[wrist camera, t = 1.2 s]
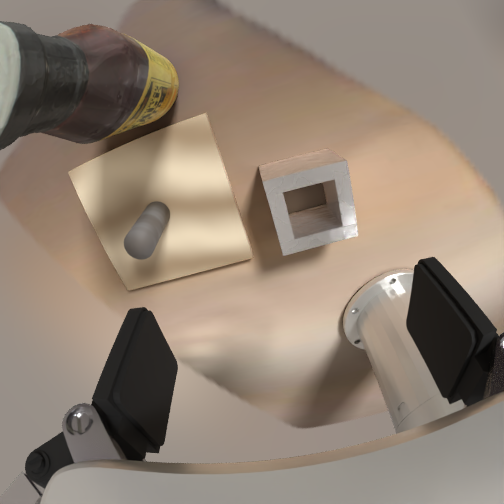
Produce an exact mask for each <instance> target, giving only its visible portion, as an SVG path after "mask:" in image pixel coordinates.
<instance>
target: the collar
mask: <svg viewBox="0 0 504 504" xmlns="http://www.w3.org/2000/svg"><path fill="white" fill-rule="evenodd" d="M259 170H260V174H261V178H262V182H263V185H264V189H265V192H266V196H267V199H268V203H269V206H270V210H271V213H272V217H273V220H274V224H275V228H276V231H277V235H278V239H279V242H280V246H281V250H282V253H283V256H285V255H289V254H293V253H296V252H300V251H304V250H308V249H311V248H315V247H319V246H322V245H326V244H330V243H333V242H337V241H341V240H344V239H348V238H352V237H355V236H358V230H357V222H356V214H355V207H354V200H353V193H352V187H351V181H350V175H349V169H348V163H347V160H345V159H344V158H343V157H341V156H340V155H338V154H337V153H335V152H334V151H332V150H331V149H329V148H326V149H322V150H318V151H313V152H309V153H305V154H301V155H297V156H293V157H289V158H285V159H281V160H277V161H274V162H270V163H266V164H263V165H259ZM318 183H323V188H324V193H325V198H326V203H327V204H324V205H320V206H317V207H313V208H309V209H305V210H301V211H298V212H294V213H290V214H288V211H287V207H286V203H285V199H284V195H283V192H287V191H291V190H294V189H298V188H302V187H306V186H310V185H314V184H318Z"/></svg>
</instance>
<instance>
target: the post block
mask: <svg viewBox="0 0 504 504" xmlns="http://www.w3.org/2000/svg"><path fill="white" fill-rule="evenodd" d="M68 173H69V175H70V178H71V180H72V182H73V185H74V187H75V189H76V192H77V194H78V196H79V198H80V200H81V203H82V205H83V207H84V209H85V211H86V213H87V215H88V217H89V219H90V222H91V224H92V226H93V228H94V230H95V232H96V234H97V236H98V238H99V239H100V241H101V243H102V245H103V247H104V249H105V251H106V253H107V255H108V257H109V258H110V260H111V262H112V264H113V266H114V267H115V269H116V271H117V273H118V275H119V276H120V278H121V280H122V282H123V283H124V285H125V287H126V288H127V290H128V291H129V290H133V289H137V288H141V287H145V286H149V285H152V284H156V283H160V282H164V281H168V280H172V279H175V278H179V277H183V276H187V275H191V274H195V273H198V272H202V271H206V270H210V269H213V268H217V267H221V266H225V265H229V264H232V263H236V262H240V261H244V260H247V259H251V258H254V257H253V251H252V248H251V245H250V242H249V239H248V236H247V233H246V230H245V227H244V224H243V220H242V217H241V214H240V211H239V208H238V205H237V202H236V199H235V196H234V193H233V190H232V187H231V184H230V181H229V178H228V175H227V172H226V169H225V166H224V163H223V160H222V157H221V154H220V151H219V148H218V145H217V142H216V139H215V136H214V133H213V130H212V127H211V124H210V121H209V118H208V114H207V113H204V114H201V115H198V116H195V117H192V118H189V119H187V120H184V121H181V122H178V123H176V124H173V125H170V126H168V127H165V128H162V129H160V130H157V131H155V132H152V133H150V134H147V135H145V136H143V137H140V138H138V139H135V140H133V141H131V142H129V143H126V144H124V145H122V146H120V147H117V148H115V149H113V150H111V151H109V152H107V153H104V154H102V155H100V156H98V157H96V158H94V159H92V160H90V161H88V162H86V163H84V164H82V165H80V166H78V167H77V168H75V169H73V170H71V171H69V172H68Z"/></svg>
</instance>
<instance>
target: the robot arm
mask: <svg viewBox="0 0 504 504" xmlns="http://www.w3.org/2000/svg"><path fill="white" fill-rule="evenodd" d="M343 328H344V332H345V335H346V337H347V339H348V340H349V342H350V343H351V344H353V345H354V346H355V347H358V348H360V349H364V350H365V351H366V353H367V356H368V358H369V361H370V363H371V366H372V368H373V371H374V374H375V376H376V379H377V381H378V384H379V387H380V389H381V392H382V395H383V397H384V400H385V403H386V405H387V408H388V411H389V414H390V417H391V419H392V422H393V425H394V428H395V431H396V434H394V435H391V436H388V437H385V438H381V439H377V440H374V441H370V442H366V443H362V444H358V445H354V446H350V447H346V448H341V449H336V450H332V451H327V452H321V453H317V454H310V455H304V456H298V457H290V458H283V459H274V460H265V461H255V462H239V463H217V464H216V463H214V464H191V463H190V464H189V463H187V464H186V463H160V462H147V461H146V460H145V456H146V452H150V453H159V449H160V446H162V445H163V444H164V441H165V436H166V430H167V424H168V418H169V413H170V406H171V402H172V396H173V391H174V385H175V380H176V375H177V370H178V365H177V361H176V359H175V357H174V355H173V353H172V351H171V349H170V347H169V345H168V343H167V341H166V339H165V337H164V336H163V334H162V331H161V329H160V327H159V325H158V323H157V321H156V319H155V317H154V315H153V313H152V312H151V311H148V310H147V309H146V308H145V307H142V308H134V309H130V310H129V311H128V313H127V315H126V317H125V319H124V322H123V324H122V326H121V328H120V331H119V333H118V335H117V338H116V340H115V342H114V345H113V347H112V349H111V352H110V354H109V357H108V359H107V361H106V364H105V367H104V369H103V371H102V374H101V376H100V379H99V381H98V384H97V387H96V390H95V393H94V395H93V397H92V399H93V401H92V404H91V405H90V404H86V403H82V404H78V405H75V406H73V407H72V408H71V409H69V410H68V412H67V413H66V414H65V416H64V418H63V421H62V429H63V432H61V433H60V434H58V435H57V436H55V437H54V438H52V439H51V440H50V441H48V442H46V443H45V444H43V445H41V446H40V447H39V448H37V449H35V450H34V451H33V452H31V453H30V455H29V456H28V458H27V460H26V464H25V470H26V473H24V472H21V473H20V474H19V475H18V477H17V478H16V479H15V480H14V481H13V482H12V484H11V485H10V486H9V487H8V488H7V489H6V491H5V492H4V493H3V494H2V495H1V496H0V504H504V332H503V333H502V334H500V336H498V334H497V333H496V331H497V329H496V328H495V327H494V325H493V324H492V323H491V321H490V320H489V319H488V318H487V316H486V315H485V314H484V313H483V311H482V310H481V309H480V308H479V306H478V305H477V304H476V303H475V302H474V300H473V299H472V298H471V297H470V296H469V294H468V293H467V292H466V291H465V290H464V289H463V288H462V286H461V285H460V284H459V283H458V282H457V281H456V280H455V278H454V277H453V276H452V275H451V274H450V273H449V272H448V271H447V270H446V269H445V268H444V266H443V265H442V264H441V263H440V262H439V261H438V260H437V259H436V258H435V257H430V258H426V259H421V260H419V262H418V265H415V267H414V270H412V269H397V270H393V271H389V272H386V273H384V274H382V275H380V276H377V277H376V278H374V279H373V280H371V281H369V282H368V283H367V284H366V285H364V286H363V287H362V288H361V289H360V290H359V291H358V292H357V293H356V294H355V295H354V296H353V298H352V299H351V301H350V302H349V304H348V306H347V308H346V310H345V313H344V317H343Z"/></svg>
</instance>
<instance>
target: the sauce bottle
mask: <svg viewBox="0 0 504 504" xmlns="http://www.w3.org/2000/svg"><path fill="white" fill-rule="evenodd" d="M178 87H179V84H178V76H177V72H176V70H175V69H174V67H173V65H172V64H171V63H170V62H169V60H168V59H167V58H165V57H163V56H161V55H160V54H158V53H157V52H155V51H153V50H152V49H150V48H148V47H147V46H145V45H143V44H142V43H140V42H139V41H137V40H135V39H133V38H132V37H130V36H127V35H125V34H122V33H119V32H117V31H115V30H113V29H111V28H108V27H104V26H98V25H93V24H88V25H83V26H80V27H75V28H72V29H70V30H67V31H65V32H63V33H60V34H58V35H57V36H52V37H49V36H45V35H40V34H36V33H35V32H34V31H33V30H32V29H31V28H30V27H27V26H26V25H24V24H19V23H13V22H2V21H0V150H1V149H4V148H5V147H7V146H9V145H10V144H12V143H13V142H14V141H15V140H16V139H17V138H18V137H22V136H26V135H28V134H31V133H34V132H35V133H40V132H41V133H45V134H48V135H52V136H55V137H59V138H62V139H66V140H69V141H72V142H76V143H81V144H88V143H93V142H96V141H100V140H103V139H105V138H108V137H110V136H113V135H116V134H119V133H122V132H125V131H128V130H131V129H133V128H136V127H139V126H142V125H145V124H148V123H151V122H153V121H155V120H157V119H159V118H160V117H162V116H163V115H164V114H165V113H166V112H167V111H168V110H169V109H170V108H171V106H172V105H173V103H174V102H175V100H176V98H177V92H178Z"/></svg>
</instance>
